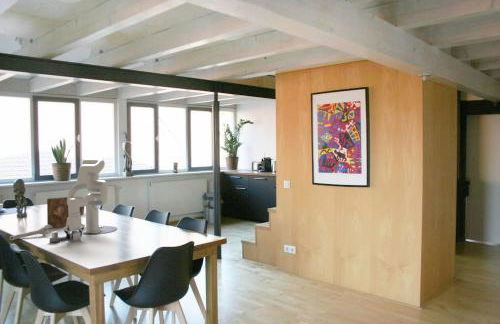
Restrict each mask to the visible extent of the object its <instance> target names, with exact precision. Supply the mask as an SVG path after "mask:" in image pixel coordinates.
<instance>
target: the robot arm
mask: <svg viewBox="0 0 500 324" xmlns="http://www.w3.org/2000/svg"><path fill="white" fill-rule="evenodd" d="M104 167H105V160H104V159H103V158H85V159H82V163H81V165H80V166H79V169H78V172H77V173H78V174H77V178H76V183H75V184H74V185H72V187H71V188H70V190H69V191H68V192H67V205H68V206H69V217H68V218H67V223H66V227H62V230H63V233H64V234H65V236H66V238H67V239H70V234H69V233H70V232H72V231H78V232H81V238H82V236H83V232H84V234H88V233H92V234H98V233H101V231H102V230H101V229H104V228H105V227H104V225H99V224H100V223H99V219H100V217H99V209H98V206H105V205H107V203H108V191H109V189H108V187H109V185H108V182H107V181H106V180H104V179H103V180H102V179H99V174H100V173H101V171H103V169H104ZM84 188H87V191H88V192H91V193H87V194H85V196H75V194H76V193H77V191H80V190H82V189H84ZM92 192H93V193H92ZM98 192H99V193H98ZM80 207H84V208H85V221H86V223H85V224H83V223H82V218H81V215H82V214H81V213H80ZM84 229H85V230H84Z"/></svg>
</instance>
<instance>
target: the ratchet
mask: <svg viewBox="0 0 500 324" xmlns="http://www.w3.org/2000/svg"><path fill="white" fill-rule="evenodd" d="M65 240H66V241H68V239H67V238H66V235H65V236H61V237H60V236H59V231H51V237H50V238H49V243H50V244H58V243H61V242H65ZM60 241H61V242H60Z"/></svg>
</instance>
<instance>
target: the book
mask: <svg viewBox="0 0 500 324" xmlns="http://www.w3.org/2000/svg"><path fill="white" fill-rule="evenodd" d="M67 197H68V196H67ZM67 197H66V196H65V197H63V196H62V197H54V198H53V197H51V198H47V199H46V206H47V207H46V209H47V210H46V213H47V214H46V215H47V217H46V218H47V219H46V221H47V224H46V225H51V226H52V228H50V227H49V228H48V229H57V228H58V229H59V228H64V227H66V223H67V218H68V217H69V206H68V205H67Z"/></svg>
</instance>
